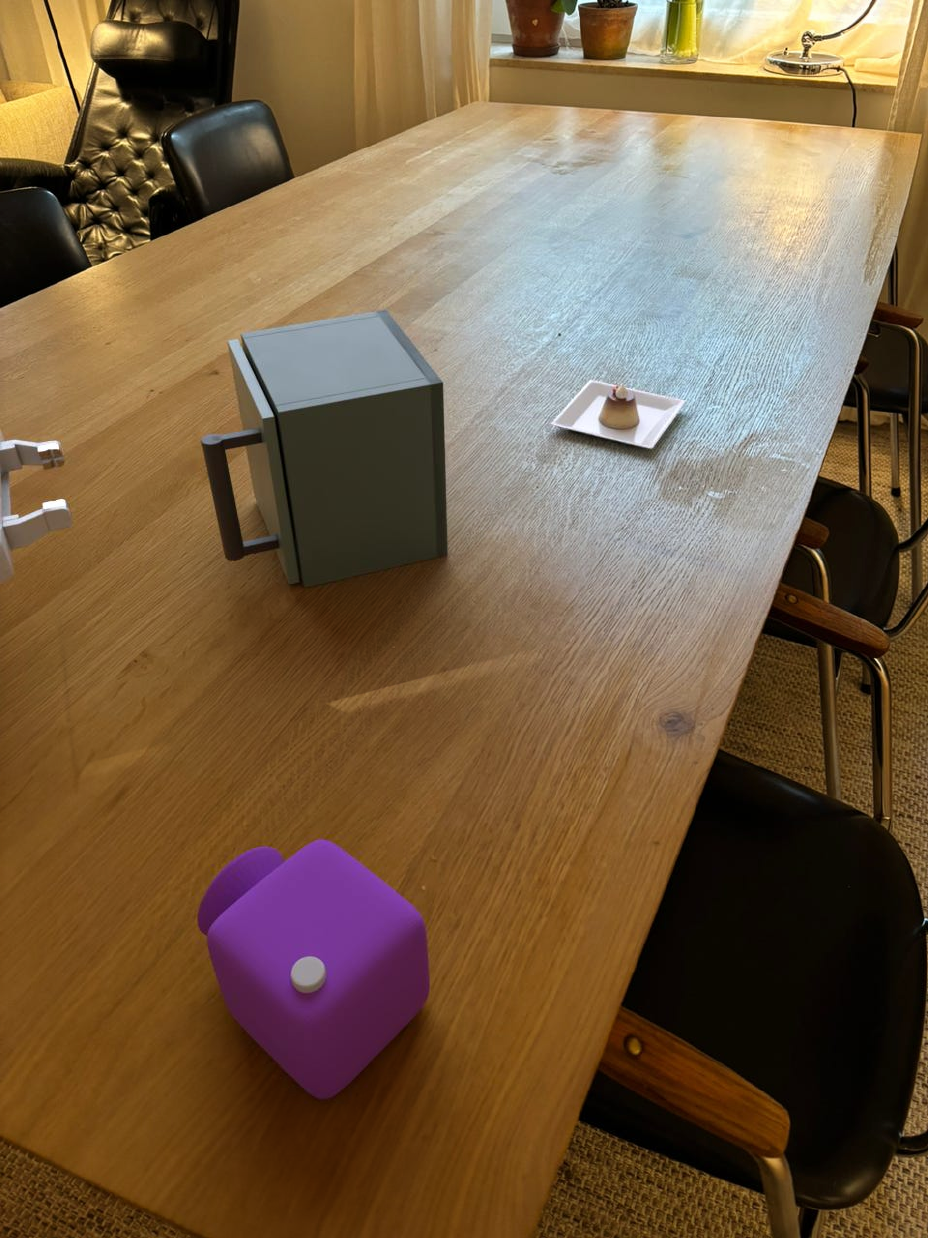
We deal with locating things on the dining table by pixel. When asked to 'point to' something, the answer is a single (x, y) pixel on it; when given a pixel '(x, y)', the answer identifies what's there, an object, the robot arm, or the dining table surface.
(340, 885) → the toy camera
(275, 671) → the dining table surface
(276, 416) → the housing
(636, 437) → the dessert
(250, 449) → the door
